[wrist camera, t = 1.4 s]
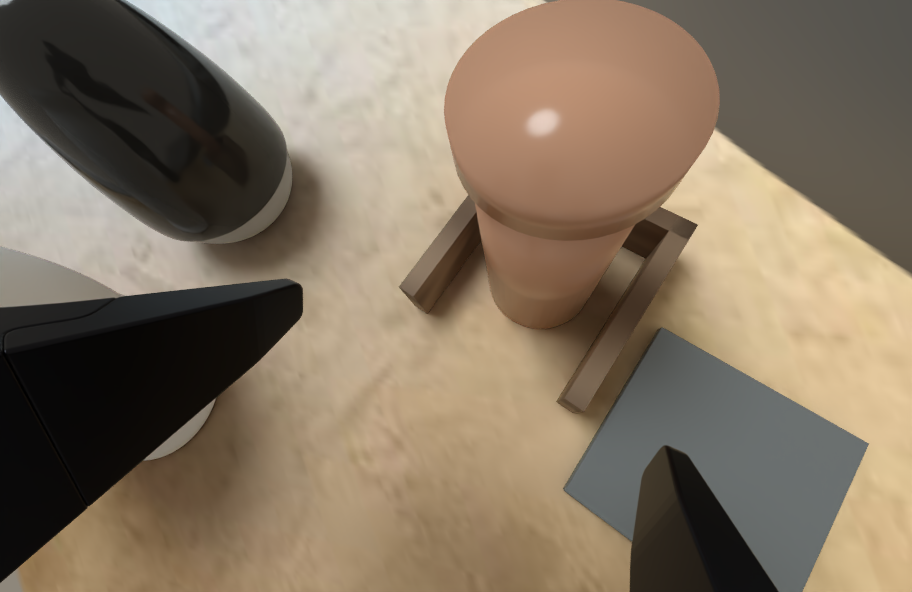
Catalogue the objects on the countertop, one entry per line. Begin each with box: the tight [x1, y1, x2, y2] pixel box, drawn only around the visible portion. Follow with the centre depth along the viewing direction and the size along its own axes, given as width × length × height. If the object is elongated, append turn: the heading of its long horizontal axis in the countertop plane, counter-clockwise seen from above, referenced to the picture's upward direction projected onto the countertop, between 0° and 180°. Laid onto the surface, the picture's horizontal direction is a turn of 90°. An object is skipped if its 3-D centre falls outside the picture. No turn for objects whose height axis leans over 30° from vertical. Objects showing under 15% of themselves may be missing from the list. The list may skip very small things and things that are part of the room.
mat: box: [563, 327, 869, 592], centre depth 18 cm, size 10×10×1 cm
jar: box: [0, 246, 216, 460], centre depth 17 cm, size 11×10×15 cm
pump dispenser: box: [0, 0, 292, 244], centre depth 21 cm, size 10×10×15 cm
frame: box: [399, 195, 698, 413], centre depth 21 cm, size 11×11×4 cm
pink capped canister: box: [444, 0, 720, 329], centre depth 16 cm, size 7×7×14 cm
